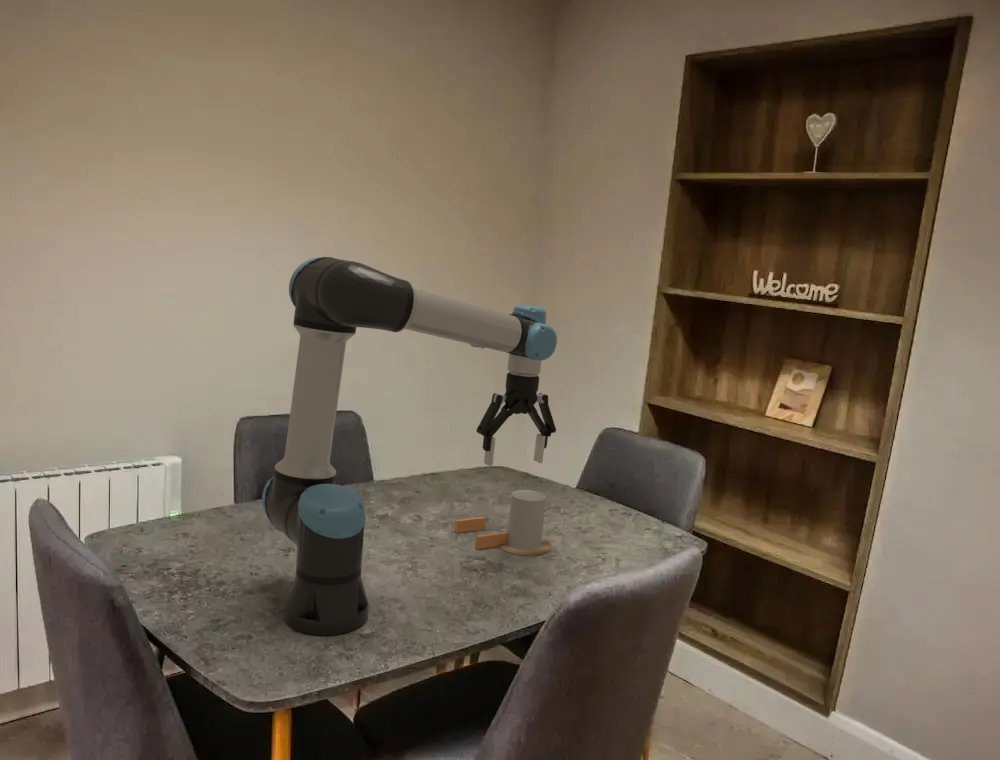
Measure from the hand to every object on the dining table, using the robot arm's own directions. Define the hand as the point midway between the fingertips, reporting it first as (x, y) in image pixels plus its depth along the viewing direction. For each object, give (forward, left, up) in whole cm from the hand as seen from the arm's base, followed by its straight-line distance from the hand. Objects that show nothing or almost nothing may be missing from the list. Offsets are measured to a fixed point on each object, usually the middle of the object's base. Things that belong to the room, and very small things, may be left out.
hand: (513, 463), depth 181 cm
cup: (-2, -4, -20) cm, 20 cm away
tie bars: (+5, +4, -20) cm, 21 cm away
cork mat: (-2, -4, -20) cm, 21 cm away
